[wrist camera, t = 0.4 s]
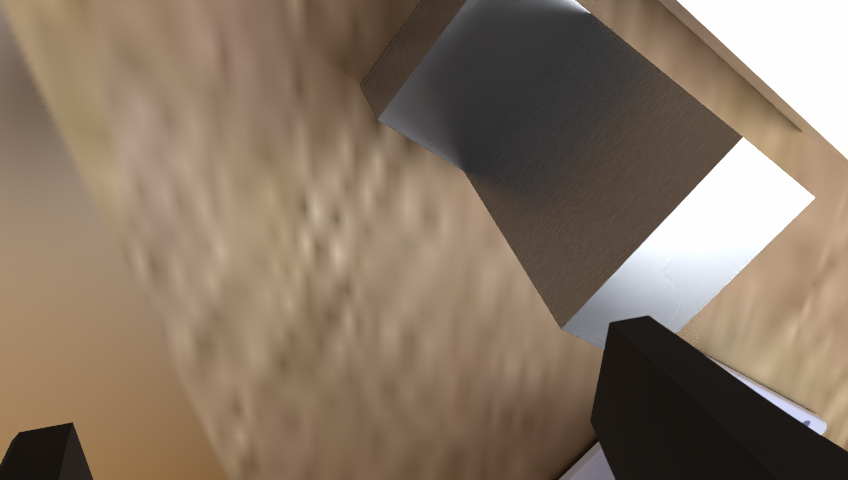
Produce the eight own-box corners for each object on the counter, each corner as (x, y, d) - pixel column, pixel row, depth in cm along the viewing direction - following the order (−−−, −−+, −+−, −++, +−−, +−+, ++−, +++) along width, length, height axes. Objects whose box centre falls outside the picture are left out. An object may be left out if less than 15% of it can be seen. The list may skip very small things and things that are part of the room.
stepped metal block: (621, 39, 20) (815, 197, 14) (507, 174, 22) (641, 368, 16) (479, -79, 18) (647, 57, 12) (359, 85, 19) (456, 278, 13)
